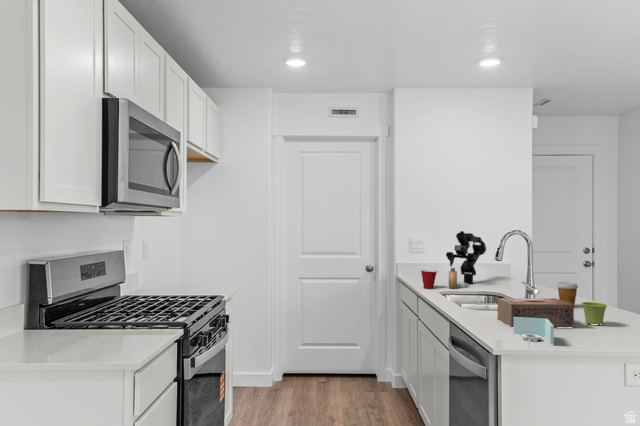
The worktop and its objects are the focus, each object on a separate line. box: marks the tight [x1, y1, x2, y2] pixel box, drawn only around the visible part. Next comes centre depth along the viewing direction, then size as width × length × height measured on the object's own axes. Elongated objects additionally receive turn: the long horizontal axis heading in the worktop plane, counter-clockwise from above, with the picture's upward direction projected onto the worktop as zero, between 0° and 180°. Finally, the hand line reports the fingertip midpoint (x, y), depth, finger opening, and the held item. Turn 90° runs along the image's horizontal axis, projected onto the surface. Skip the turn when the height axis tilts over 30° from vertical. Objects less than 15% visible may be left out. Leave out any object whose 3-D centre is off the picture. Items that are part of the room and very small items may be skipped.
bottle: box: [448, 267, 458, 290], centre depth 301 cm, size 5×5×13 cm
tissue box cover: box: [497, 297, 575, 329], centre depth 200 cm, size 26×14×10 cm, turn 91°
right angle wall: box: [513, 317, 555, 345], centre depth 174 cm, size 12×12×8 cm
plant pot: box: [581, 301, 608, 325], centre depth 200 cm, size 9×9×9 cm
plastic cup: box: [420, 268, 438, 290], centre depth 300 cm, size 11×11×12 cm
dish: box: [457, 281, 469, 289], centre depth 309 cm, size 11×11×2 cm
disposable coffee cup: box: [556, 281, 579, 307], centre depth 239 cm, size 10×10×12 cm
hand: (457, 266), depth 308 cm, fingers open, 9 cm apart
